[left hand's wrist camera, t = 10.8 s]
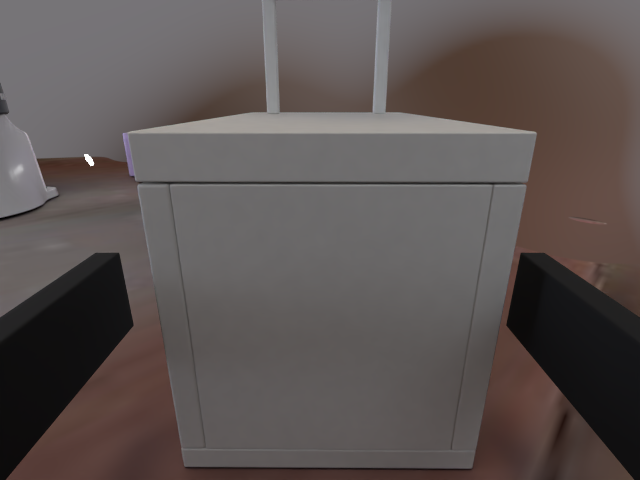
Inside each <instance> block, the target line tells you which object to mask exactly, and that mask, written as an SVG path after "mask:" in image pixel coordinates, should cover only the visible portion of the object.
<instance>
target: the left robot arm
mask: <svg viewBox="0 0 640 480" xmlns="http://www.w3.org/2000/svg"><path fill="white" fill-rule="evenodd" d="M133 326H134V325H133V320H132V315H131V310H130V305H129V300H128V295H127V290H126V285H125V280H124V275H123V270H122V265H121V260H120V255H119V253H95V254H93V255H92V256H90V257H89V258H87V259H86V260H84V261H83V262H82V263H80V264H79V265H77V266H76V267H74V268H73V269H71V270H70V271H68V272H67V273H65V274H64V275H62V276H61V277H59V278H58V279H56V280H55V281H53V282H52V283H51V284H49V285H48V286H46V287H45V288H43V289H42V290H40V291H39V292H37V293H36V294H34V295H33V296H31V297H30V298H28V299H27V300H25V301H24V302H22V303H21V304H20V305H18V306H17V307H15V308H14V309H12V310H11V311H9V312H8V313H6V314H5V315H3V316H2V317H0V480H6V479H7V477H8V476H9V475H10V474H11V473H12V471H13V470H14V469H15V468H16V466H17V465H18V464H19V463H20V462H21V460H22V459H23V458H24V457H25V456H26V454H27V453H28V452H29V451H30V450H31V448H32V447H33V446H34V445H35V444H36V442H37V441H38V440H39V439H40V438H41V436H42V435H43V434H44V433H45V432H46V430H47V429H48V428H49V427H50V426H51V424H52V423H53V422H54V421H55V420H56V418H57V417H58V416H59V415H60V413H61V412H62V411H63V410H64V409H65V407H66V406H67V405H68V404H69V403H70V401H71V400H72V399H73V398H74V397H75V395H76V394H77V393H78V392H79V391H80V389H81V388H82V387H83V386H84V385H85V383H86V382H87V381H88V380H89V379H90V377H91V376H92V375H93V374H94V373H95V371H96V370H97V369H98V368H99V367H100V365H101V364H102V363H103V362H104V360H105V359H106V358H107V357H108V356H109V354H110V353H111V352H112V351H113V350H114V348H115V347H116V346H117V345H118V344H119V342H120V341H121V340H122V339H123V338H124V336H125V335H126V334H127V333H128V332H129V330H130V329H131V328H132V327H133ZM506 326H507V327H508V328H509V329H510V330H511V332H512V333H513V334H514V335H515V336H516V338H517V339H518V340H519V341H520V342H521V344H522V345H523V346H524V347H525V348H526V350H527V351H528V352H529V353H530V354H531V356H532V357H533V358H534V359H535V361H536V362H537V363H538V364H539V365H540V367H541V368H542V369H543V370H544V371H545V373H546V374H547V375H548V376H549V377H550V379H551V380H552V381H553V382H554V383H555V385H556V386H557V387H558V388H559V389H560V391H561V392H562V393H563V394H564V395H565V397H566V398H567V399H568V400H569V401H570V403H571V404H572V405H573V406H574V407H575V409H576V410H577V411H578V412H579V413H580V415H581V416H582V417H583V418H584V420H585V421H586V422H587V423H588V424H589V426H590V427H591V428H592V429H593V430H594V432H595V433H596V434H597V435H598V436H599V438H600V439H601V440H602V441H603V442H604V444H605V445H606V446H607V447H608V448H609V450H610V451H611V452H612V453H613V454H614V456H615V457H616V458H617V459H618V460H619V462H620V463H621V464H622V465H623V466H624V468H625V469H626V470H627V471H628V473H629V474H630V475H631V476H632V477H633V479H634V480H640V317H638V316H637V315H635V314H634V313H632V312H631V311H629V310H628V309H626V308H625V307H623V306H622V305H620V304H619V303H618V302H616V301H615V300H613V299H612V298H610V297H609V296H607V295H606V294H604V293H603V292H601V291H600V290H598V289H597V288H595V287H594V286H592V285H591V284H589V283H588V282H587V281H585V280H584V279H582V278H581V277H579V276H578V275H576V274H575V273H573V272H572V271H570V270H569V269H567V268H566V267H564V266H563V265H561V264H560V263H558V262H557V261H556V260H554V259H553V258H551V257H550V256H548V255H547V254H545V253H521V255H520V260H519V265H518V270H517V275H516V280H515V285H514V290H513V295H512V300H511V305H510V310H509V315H508V320H507V325H506Z"/></svg>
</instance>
